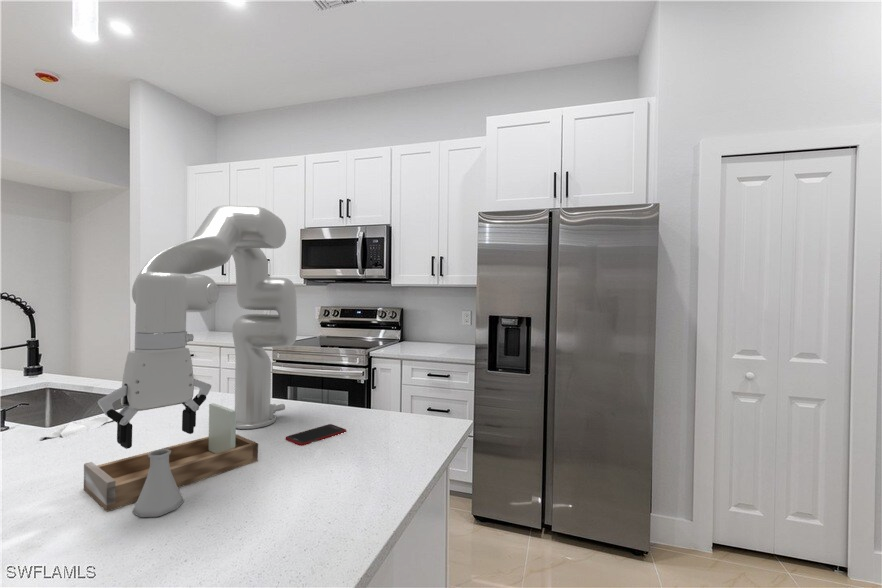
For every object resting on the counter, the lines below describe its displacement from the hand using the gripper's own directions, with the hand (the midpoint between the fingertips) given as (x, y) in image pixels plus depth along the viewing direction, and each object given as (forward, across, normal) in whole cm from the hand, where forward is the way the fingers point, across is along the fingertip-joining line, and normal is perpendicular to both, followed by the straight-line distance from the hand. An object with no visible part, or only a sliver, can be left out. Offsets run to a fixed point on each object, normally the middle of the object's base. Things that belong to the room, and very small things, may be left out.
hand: (158, 439), depth 74 cm
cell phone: (+12, -42, -10) cm, 44 cm away
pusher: (+11, -17, -12) cm, 24 cm away
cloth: (+12, -7, -65) cm, 66 cm away
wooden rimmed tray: (+12, -8, -12) cm, 19 cm away
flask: (+13, 0, 0) cm, 13 cm away
